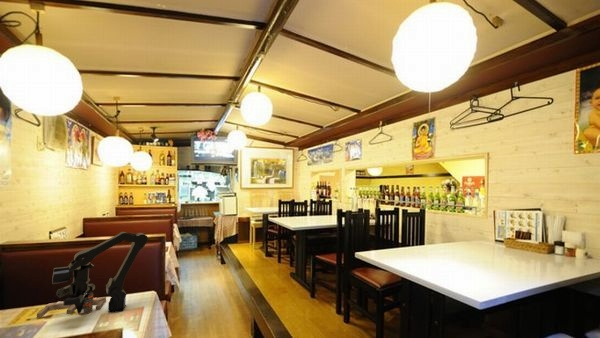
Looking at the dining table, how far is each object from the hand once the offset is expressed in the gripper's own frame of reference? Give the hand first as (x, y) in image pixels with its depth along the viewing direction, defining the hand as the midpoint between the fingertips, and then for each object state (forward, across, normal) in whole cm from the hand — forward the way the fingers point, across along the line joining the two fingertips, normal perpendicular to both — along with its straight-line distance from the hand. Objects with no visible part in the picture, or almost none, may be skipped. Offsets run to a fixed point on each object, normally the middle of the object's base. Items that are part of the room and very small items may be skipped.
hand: (79, 312), depth 129 cm
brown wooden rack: (+3, -13, -7) cm, 15 cm away
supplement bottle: (+4, -8, 0) cm, 8 cm away
